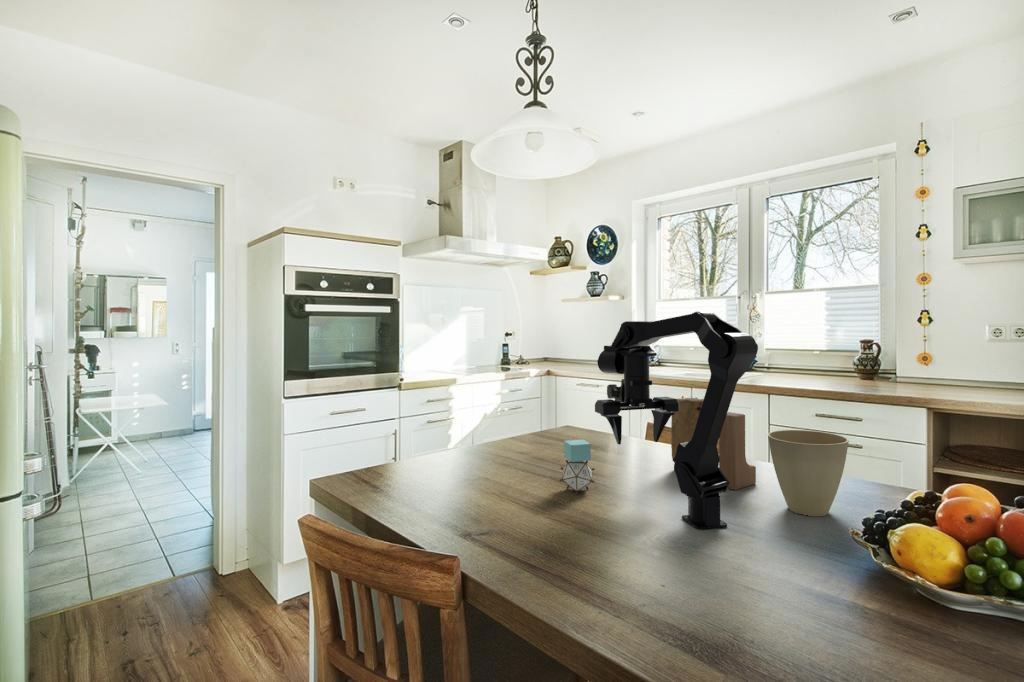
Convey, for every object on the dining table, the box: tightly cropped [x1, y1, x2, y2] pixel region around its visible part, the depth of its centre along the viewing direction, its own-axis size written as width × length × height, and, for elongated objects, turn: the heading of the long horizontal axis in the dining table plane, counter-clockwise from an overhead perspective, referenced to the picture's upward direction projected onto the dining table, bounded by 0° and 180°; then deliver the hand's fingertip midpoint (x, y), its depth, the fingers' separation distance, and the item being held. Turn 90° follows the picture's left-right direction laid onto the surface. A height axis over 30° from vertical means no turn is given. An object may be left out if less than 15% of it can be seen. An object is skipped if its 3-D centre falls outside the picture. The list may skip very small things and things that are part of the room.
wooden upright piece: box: [670, 397, 704, 463], centre depth 139 cm, size 11×8×20 cm
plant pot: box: [767, 429, 849, 517], centre depth 109 cm, size 15×15×16 cm
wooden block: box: [718, 411, 757, 491], centre depth 127 cm, size 9×4×18 cm, turn 123°
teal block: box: [563, 439, 592, 462], centre depth 124 cm, size 5×5×4 cm
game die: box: [558, 459, 595, 496], centre depth 124 cm, size 9×8×10 cm
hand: (637, 442), depth 118 cm, fingers open, 9 cm apart
